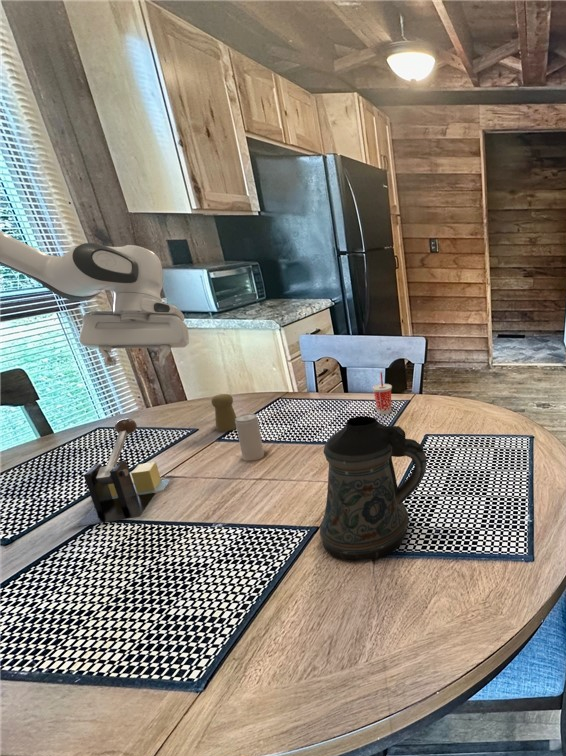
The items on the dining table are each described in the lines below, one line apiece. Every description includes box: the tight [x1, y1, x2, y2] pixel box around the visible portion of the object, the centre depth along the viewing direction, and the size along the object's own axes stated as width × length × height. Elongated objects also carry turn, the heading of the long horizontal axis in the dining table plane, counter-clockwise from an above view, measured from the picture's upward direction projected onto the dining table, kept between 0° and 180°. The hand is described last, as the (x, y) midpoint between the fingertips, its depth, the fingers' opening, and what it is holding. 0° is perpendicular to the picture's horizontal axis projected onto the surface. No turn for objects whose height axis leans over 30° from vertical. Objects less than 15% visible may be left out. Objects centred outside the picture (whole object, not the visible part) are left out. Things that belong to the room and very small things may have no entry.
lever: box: [96, 418, 138, 485], centre depth 88 cm, size 16×4×4 cm, turn 21°
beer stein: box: [319, 415, 428, 562], centre depth 79 cm, size 16×19×25 cm
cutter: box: [76, 460, 158, 528], centre depth 85 cm, size 9×10×11 cm
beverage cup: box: [372, 371, 393, 415], centre depth 138 cm, size 6×6×14 cm
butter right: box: [130, 461, 162, 493], centre depth 93 cm, size 3×4×5 cm
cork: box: [210, 393, 238, 432], centre depth 123 cm, size 6×6×11 cm
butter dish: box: [112, 478, 171, 499], centre depth 93 cm, size 12×5×1 cm, turn 112°
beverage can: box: [235, 413, 265, 462], centre depth 107 cm, size 5×5×12 cm
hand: (135, 364), depth 100 cm, fingers open, 8 cm apart
